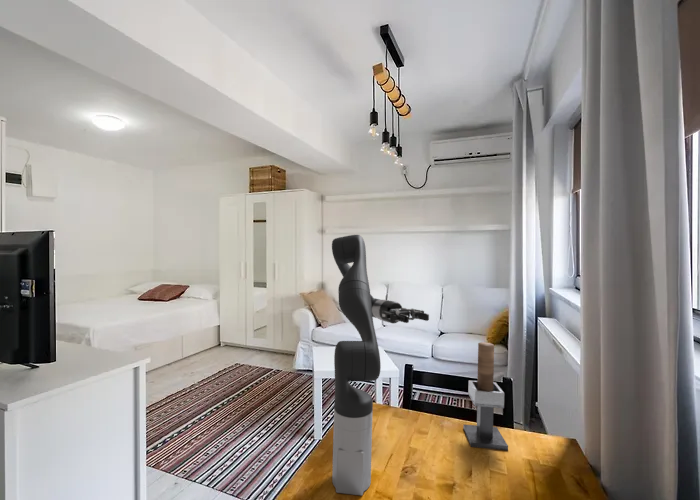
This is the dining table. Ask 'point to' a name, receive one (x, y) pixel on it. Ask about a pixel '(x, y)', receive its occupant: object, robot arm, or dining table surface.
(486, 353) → the walnut rail post
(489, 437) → the stand
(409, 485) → the dining table surface
